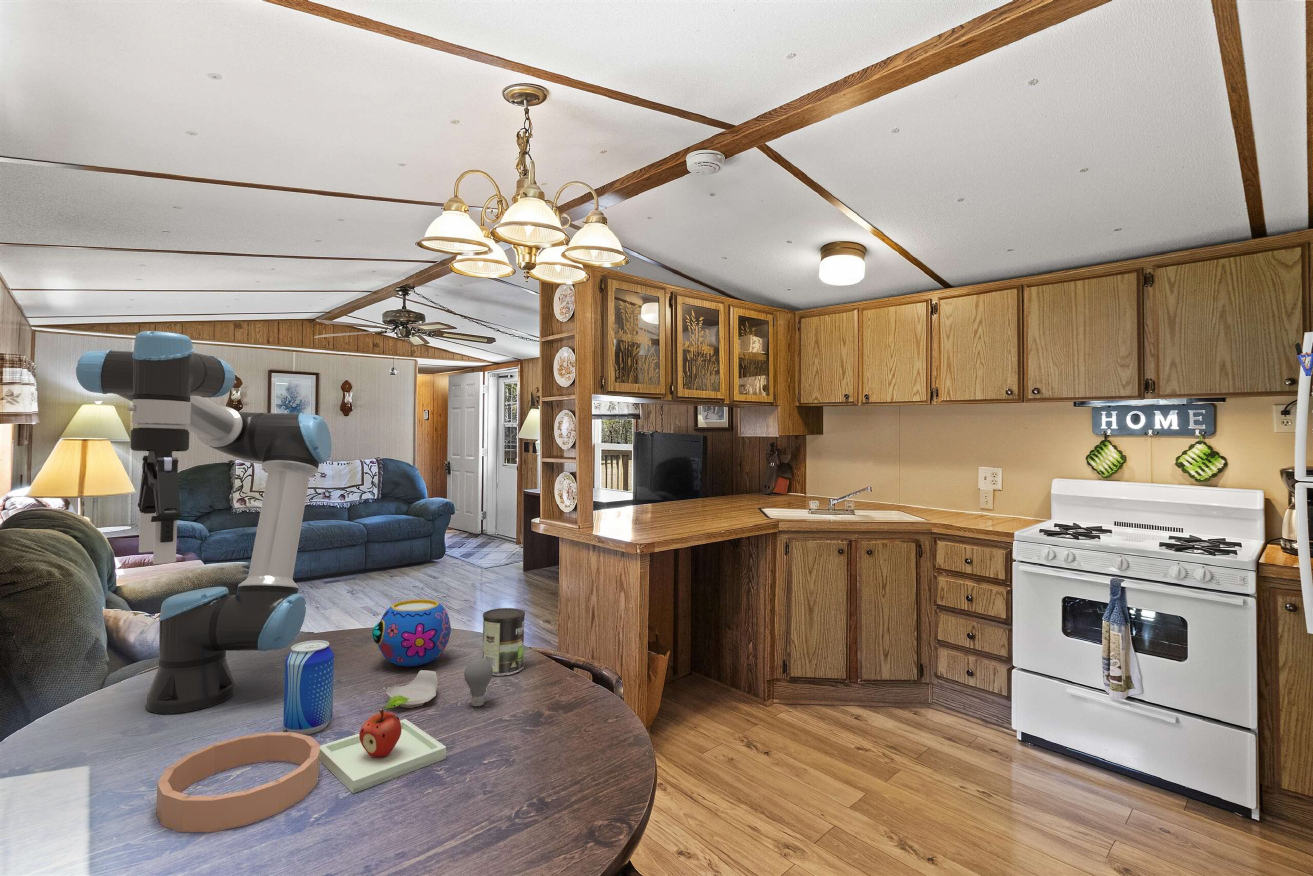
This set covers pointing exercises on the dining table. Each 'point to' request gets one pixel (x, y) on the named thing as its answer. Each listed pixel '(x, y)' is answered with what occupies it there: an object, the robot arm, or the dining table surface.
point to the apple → (382, 730)
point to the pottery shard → (416, 689)
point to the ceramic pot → (413, 632)
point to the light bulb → (478, 679)
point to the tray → (380, 758)
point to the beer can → (308, 687)
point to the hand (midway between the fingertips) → (156, 557)
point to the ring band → (240, 805)
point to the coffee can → (503, 639)
